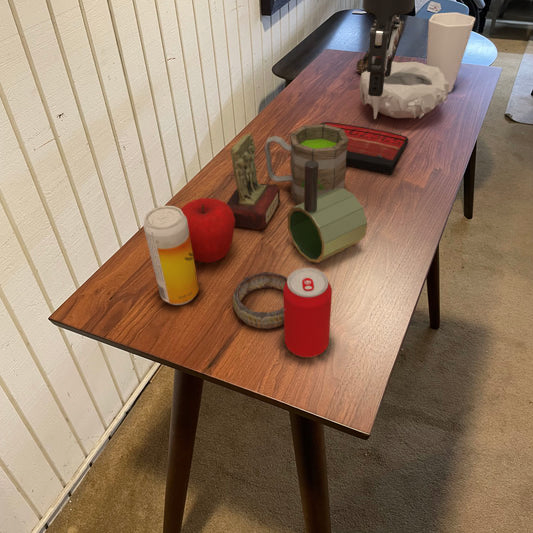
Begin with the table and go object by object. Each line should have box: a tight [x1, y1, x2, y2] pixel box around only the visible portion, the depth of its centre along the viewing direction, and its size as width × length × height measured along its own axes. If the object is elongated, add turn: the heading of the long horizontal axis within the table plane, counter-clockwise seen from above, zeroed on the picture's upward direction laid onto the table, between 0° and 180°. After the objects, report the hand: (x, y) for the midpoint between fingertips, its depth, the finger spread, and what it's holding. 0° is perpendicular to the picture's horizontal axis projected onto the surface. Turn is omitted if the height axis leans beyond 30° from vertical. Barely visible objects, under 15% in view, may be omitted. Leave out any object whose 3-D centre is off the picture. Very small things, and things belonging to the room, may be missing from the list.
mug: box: [264, 123, 349, 205], centre depth 97 cm, size 16×11×12 cm
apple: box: [180, 197, 236, 264], centre depth 84 cm, size 10×10×11 cm
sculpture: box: [226, 133, 281, 230], centre depth 91 cm, size 10×8×15 cm
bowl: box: [358, 61, 449, 120], centre depth 122 cm, size 21×20×10 cm
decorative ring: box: [232, 271, 288, 330], centre depth 77 cm, size 10×3×10 cm
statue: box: [355, 18, 406, 74], centre depth 139 cm, size 6×12×15 cm, turn 67°
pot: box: [287, 161, 368, 264], centre depth 82 cm, size 18×10×9 cm
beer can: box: [142, 205, 200, 306], centre depth 76 cm, size 6×6×15 cm
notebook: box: [320, 121, 409, 175], centre depth 113 cm, size 16×2×21 cm
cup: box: [425, 12, 476, 93], centre depth 130 cm, size 11×10×17 cm
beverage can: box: [282, 267, 333, 358], centre depth 68 cm, size 6×6×12 cm
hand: (379, 85), depth 84 cm, fingers open, 8 cm apart
